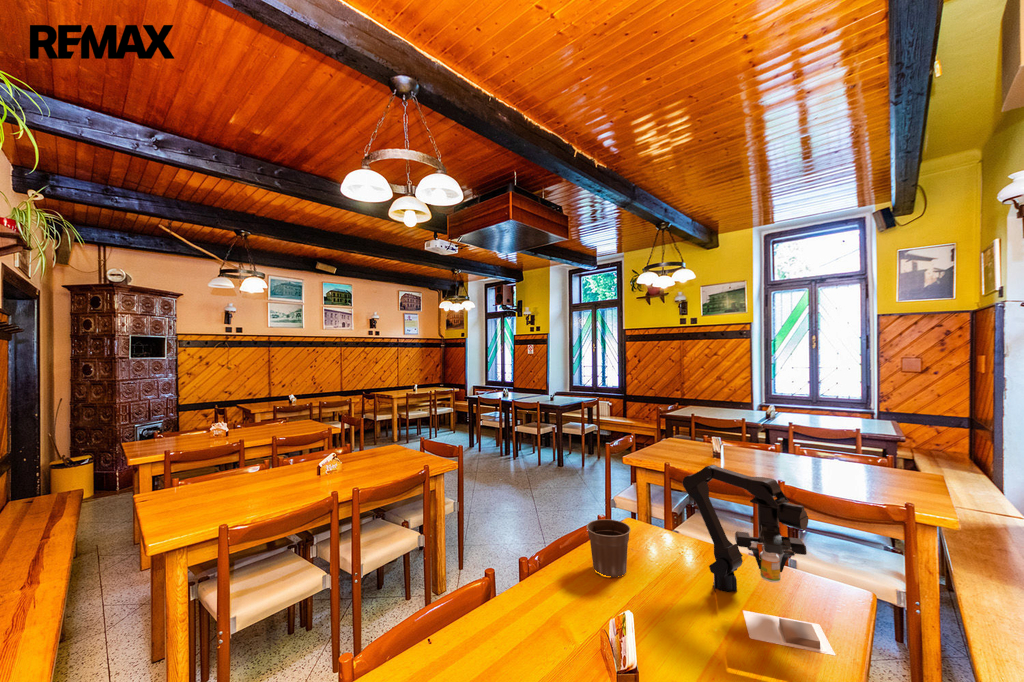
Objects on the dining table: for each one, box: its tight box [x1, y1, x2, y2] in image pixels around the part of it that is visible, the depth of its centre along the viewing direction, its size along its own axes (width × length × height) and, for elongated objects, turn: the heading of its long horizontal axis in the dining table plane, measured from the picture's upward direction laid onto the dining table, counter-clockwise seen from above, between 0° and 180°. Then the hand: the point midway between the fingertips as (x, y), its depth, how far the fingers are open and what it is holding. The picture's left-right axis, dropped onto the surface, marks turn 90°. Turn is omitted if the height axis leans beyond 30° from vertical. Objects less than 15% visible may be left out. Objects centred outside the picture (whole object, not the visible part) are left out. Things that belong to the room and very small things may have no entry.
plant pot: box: [586, 518, 631, 578], centre depth 160 cm, size 16×16×16 cm
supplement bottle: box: [759, 545, 781, 583], centre depth 133 cm, size 5×5×10 cm
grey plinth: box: [779, 618, 820, 649], centre depth 119 cm, size 8×8×2 cm
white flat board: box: [742, 610, 836, 657], centre depth 122 cm, size 20×14×1 cm
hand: (770, 570), depth 133 cm, fingers closed on supplement bottle, 5 cm apart
